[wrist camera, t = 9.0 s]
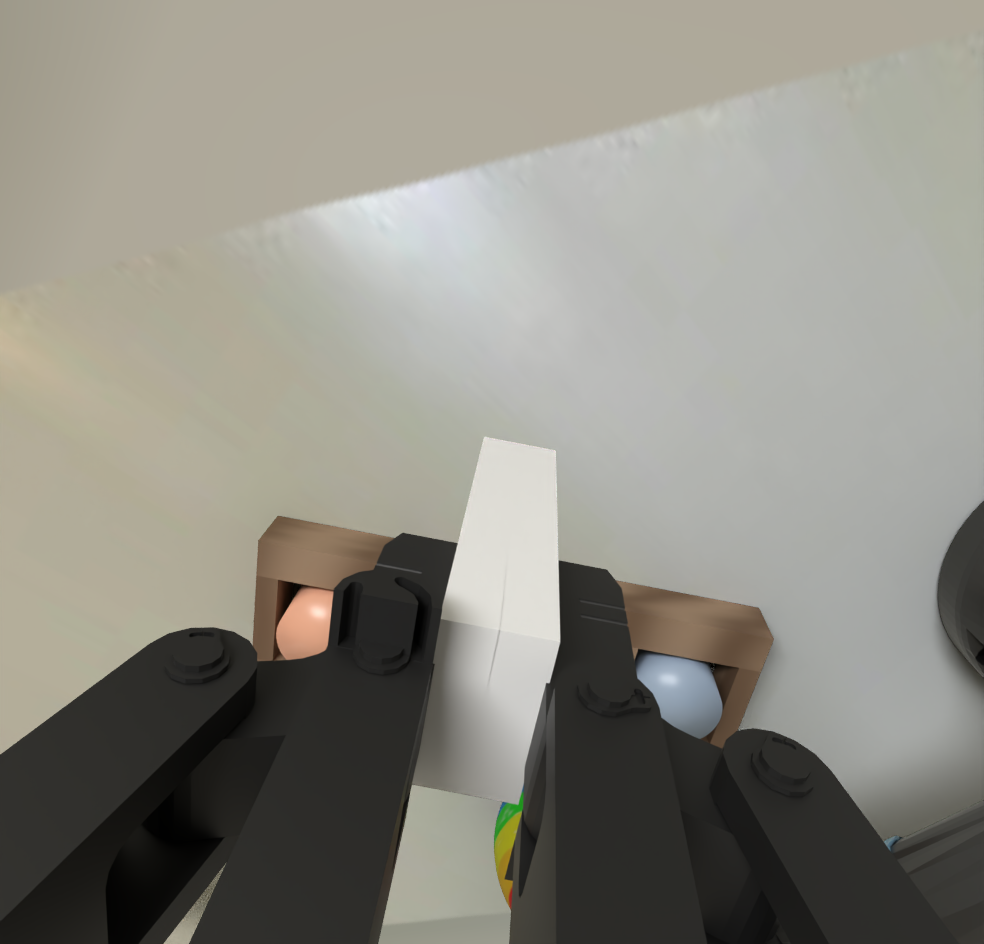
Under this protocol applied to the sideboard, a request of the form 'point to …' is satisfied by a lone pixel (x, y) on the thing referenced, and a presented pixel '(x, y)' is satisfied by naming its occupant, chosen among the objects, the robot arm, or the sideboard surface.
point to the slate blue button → (681, 690)
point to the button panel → (650, 611)
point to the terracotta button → (305, 623)
